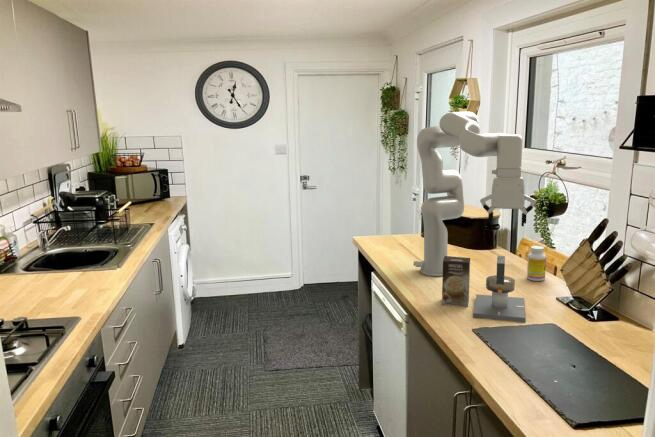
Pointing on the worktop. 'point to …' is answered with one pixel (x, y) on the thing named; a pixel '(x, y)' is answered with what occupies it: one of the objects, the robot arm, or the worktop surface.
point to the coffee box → (456, 281)
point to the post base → (505, 312)
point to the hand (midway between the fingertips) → (507, 225)
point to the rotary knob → (500, 279)
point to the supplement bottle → (536, 264)
